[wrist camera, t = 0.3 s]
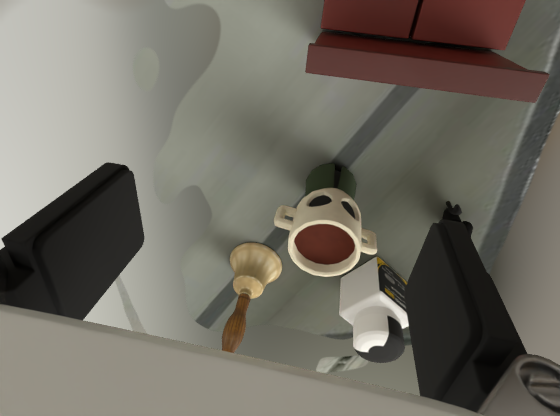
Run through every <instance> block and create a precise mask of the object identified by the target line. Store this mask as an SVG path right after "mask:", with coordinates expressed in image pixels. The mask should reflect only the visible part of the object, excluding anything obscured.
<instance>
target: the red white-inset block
mask: <svg viewBox="0 0 560 416" xmlns="http://www.w3.org/2000/svg"><path fill="white" fill-rule="evenodd" d="M417 4H418V0H324V8H323V15H322V22H321V29H330V30H338V31H347V32H355V33H363V34H372V35H380V36H389V37H397V38H406V39H408V37H409V33H410V30H411V26H412V22H413V19H414V15H415V11H416V7H417Z"/></svg>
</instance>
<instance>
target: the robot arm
mask: <svg viewBox="0 0 560 416" xmlns="http://www.w3.org/2000/svg"><path fill="white" fill-rule="evenodd" d="M2 241H3V243H4V245H5V247H4V248H2V249H1V250H0V416H560V365H558V364H556V363H555V362H553V361H551V360H549V359H546V358H544V357H541V356H538V355H531V354H527V352H526V350H525V348H524V346H523V344H522V341H521V339H520V337H519V335H518V333H517V331H516V329H515V327H514V324H513V322H512V320H511V318H510V316H509V314H508V312H507V310H506V308H505V305H504V303H503V301H502V299H501V297H500V295H499V293H498V291H497V288H496V286H495V284H494V282H493V280H492V278H491V276H490V275H489V274H488V273H487V272H486V270H485V268H484V265H483V263H482V261H481V259H480V257H479V255H478V252H477V250H476V248H475V246H474V244H473V242H472V240H471V237H470V235H469V233H468V231H467V229H466V227H465V225H464V223H461V222H455V221H450V220H444V219H442V220H440V222H439V223H433V224H432V226H431V228H430V230H429V232H428V235H427V237H426V239H425V242H424V244H423V247H422V249H421V251H420V254H419V256H418V258H417V261H416V263H415V265H414V268H413V270H412V273H411V275H410V277H409V280H408V282H407V284H406V287H405V292H404V299H405V305H406V311H407V318H408V324H409V330H410V336H411V342H412V348H413V354H414V360H415V365H416V372H417V378H418V384H419V390H420V396H418V395H414V394H410V393H405V392H402V391H397V390H393V389H389V388H385V387H380V386H376V385H373V384H368V383H364V382H360V381H356V380H351V379H347V378H342V377H338V376H333V375H329V374H325V373H320V372H316V371H311V370H307V369H302V368H298V367H293V366H289V365H285V364H280V363H276V362H271V361H267V360H262V359H258V358H253V357H249V356H244V355H240V354H235V353H231V352H226V351H221V350H217V349H212V348H208V347H203V346H198V345H194V344H190V343H185V342H180V341H176V340H171V339H166V338H162V337H158V336H152V335H148V334H144V333H139V332H134V331H130V330H125V329H120V328H116V327H111V326H106V325H102V324H97V323H92V322H88V321H83V319H84V318H85V317H86V316H87V314H88V313H89V312H90V311H91V309H92V308H93V307H94V305H95V304H96V303H97V302H98V300H99V299H100V298H101V297H102V296H103V294H104V293H105V292H106V291H107V289H108V288H109V287H110V286H111V284H112V283H113V282H114V281H115V279H116V278H117V277H118V276H119V274H120V273H121V272H122V271H123V269H124V268H125V267H126V266H127V264H128V263H129V262H130V261H131V259H132V258H133V257H134V256H135V254H136V253H137V252H138V251H139V250H140V248H141V247H142V245H143V242H144V232H143V227H142V220H141V214H140V209H139V203H138V197H137V191H136V185H135V179H134V174H133V172H132V171H129V168H128V167H127V166H125V165H120V164H115V163H105V164H104V165H102V166H101V167H100V168H98V169H97V170H95V171H94V172H93V173H91V174H90V175H89V176H87V177H86V178H84V179H83V180H82V181H80V182H79V183H78V184H76V185H75V186H73V187H72V188H70V189H69V190H68V191H66V192H65V193H64V194H63V195H61V196H59V197H58V198H57V199H56V200H54V201H53V202H51V203H50V204H48V205H47V206H46V207H44V208H43V209H42V210H40V211H39V212H37V213H36V214H35V215H33V216H32V217H31V218H30V219H28V220H26V221H25V222H24V223H22V224H21V225H19V226H18V227H17V228H15V229H14V230H13V231H11V232H10V233H8V234H7V235H6V236H4V237H3V238H2Z"/></svg>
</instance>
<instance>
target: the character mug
mask: <svg viewBox="0 0 560 416" xmlns="http://www.w3.org/2000/svg"><path fill="white" fill-rule="evenodd" d="M355 190H356V182H355V179H354V177H353V174H352V173H351V172H350V171H349V170H347V169H346V168H345V167H342V170H341V173H340V172H339V171H335V164H325V165H321V166H319V167H317V168H316V169H314V170H312V171H311V173H310V175H309V176H308V178H307V180H306V195H305V197H304V198H303V199H302V200H301V201H300V203H299V205H298V206H297V208H296V209H295V208H292V207H289V206H285V205H281V206H280V207H279V208H278V209H277V212H276V215H275V218H274V223H275V225H276V226H277V227H280V228H283V229H286V230H290V234H289V242H288V251H289V254H290V256H291V258H292V260H293V262H295V263H296V264H297V265H298V266H299V267H300V268H301V269H302V270H304V271H306V272H308V273H311V274H313V275H318V276H325V277H329V276H336V275H341V274H343V273H345V272H347V271H349V270H351V269H352V268H353V267H354V266H355V264H356V263H357V262H358V261H359V257H360V252H363V253H367V254H375V253H376V252H377V241H376V235H375V233H374V232H372V231H369V230H366V229H363V228H361V213H360V211H359V209H358V206H357V204H356V203H355V202H354V197H355ZM285 215H287V216H290V217H294V218H293V221H290V220H287V219H284V217H285ZM361 238H364V239H367V242H368V244H367V243H364V242H361Z"/></svg>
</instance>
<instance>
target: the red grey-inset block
mask: <svg viewBox="0 0 560 416" xmlns="http://www.w3.org/2000/svg"><path fill="white" fill-rule="evenodd" d="M525 1H526V0H419V1H418V5H417V8H416V12H415V16H414V19H413V23H412V27H411V31H410V34H409V36H410V37H411V38H412V39H414V40H422V41H431V42H439V43H448V44H456V45H465V46H473V47H482V48H490V49H498V50H505V48H506V46H507V43H508V41H509V39H510V36H511V34H512V32H513V29H514V27H515V24H516V22H517V20H518V17H519V15H520V13H521V10H522V8H523V5H524V3H525Z"/></svg>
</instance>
